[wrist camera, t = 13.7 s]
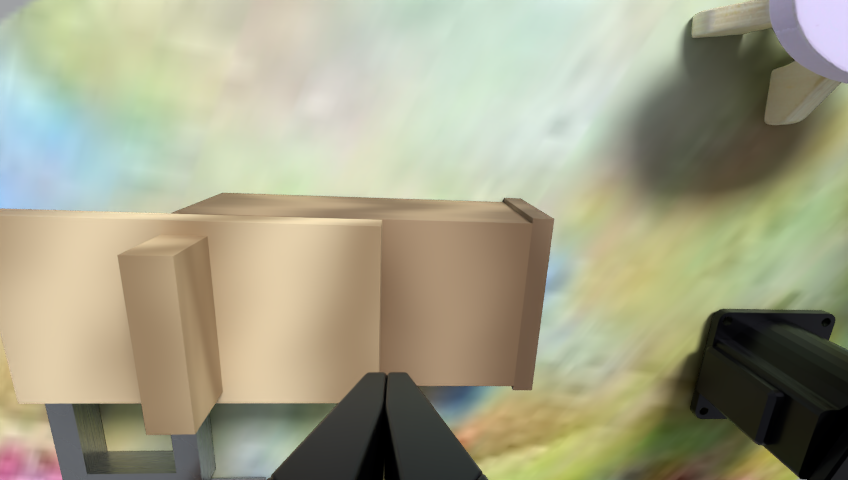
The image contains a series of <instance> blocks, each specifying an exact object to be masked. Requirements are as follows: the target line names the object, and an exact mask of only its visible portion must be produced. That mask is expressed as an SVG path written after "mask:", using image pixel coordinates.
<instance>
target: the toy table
mask: <svg viewBox="0 0 848 480" xmlns="http://www.w3.org/2000/svg"><path fill="white" fill-rule="evenodd" d="M769 28H773V30H774V32H775V34H776V36H777V38H778V40H779V42H780V44H781V45H782V46H783V47H784V49H785V50H786V52H787V53H788V54H789V55H790V56H791V57H792V58H793V59H794V60H795V61H794V62H792V63H790V64H788V65H786V66H783V67H780V68H776V69H774V70H773V71H772V72H771V78H770V85H769V91H768V98H767V104H766V110H765V116H764V121H765V123H766V124H769V125H785V124H793V123H798V122H800V121H802V120H803V119H805V118H806V117H807V116H808V115H809V114H810V113H811V112H812V111H813V110H814V109H815V108H816V107H817V106H818V105H819V104H820V103H821V102H822V101H823V100H824V99H825V98H826V97H827V96H828V95H829V94H830V93H831V92H832V91H833V90H834V89H835V88H836V87H837V86H838V85H839V84H840V83H848V0H755V1H749V2H744V3H739V4H733V5H728V6H724V7H718V8H713V9H709V10H705V11H701V12H699V13H697V14H695V15H694V16H693V21H692V32H691V35H692V38H702V37H714V36H726V35H739V34H746V33H750V32H754V31H759V30H764V29H769Z"/></svg>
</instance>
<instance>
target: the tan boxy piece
mask: <svg viewBox="0 0 848 480" xmlns="http://www.w3.org/2000/svg"><path fill="white" fill-rule="evenodd" d="M172 214H202V215H236V216H270V217H304V218H338V219H372V220H382V262H381V319H380V372H384V373H386V375H388V373H390V372H406V373H408V374H409V376H410V377H411V378H412V380H413V381H414V382H415V384H416V385H417V386H512V389H513V390H532V384H533V377H534V369H535V361H536V354H537V346H538V338H539V331H540V323H541V316H542V308H543V300H544V293H545V285H546V277H547V270H548V262H549V254H550V247H551V239H552V232H553V224H554V219H553V218H552V217H550V216H548V215H547V214H545V213H543V212H542V211H540V210H538V209H537V208H535V207H534V206H532V205H530V204H529V203H527V202H525V201H524V200H522V199H516V198H504V202H481V201H451V200H420V199H390V198H360V197H330V196H299V195H269V194H239V193H221V194H219V195H216V196H214V197H211V198H208V199H206V200H203V201H201V202H198V203H196V204H193V205H191V206H188V207H186V208H183V209H181V210H178V211H175V212H173V213H172Z"/></svg>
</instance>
